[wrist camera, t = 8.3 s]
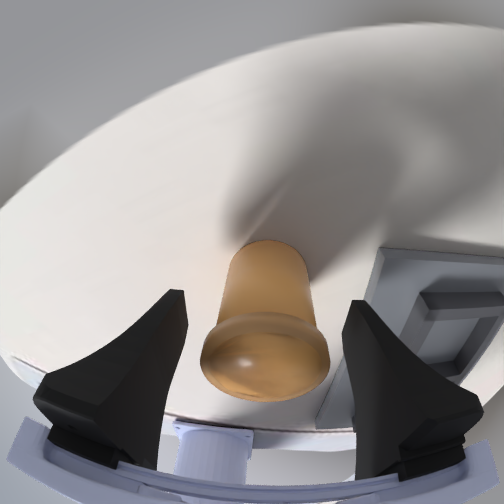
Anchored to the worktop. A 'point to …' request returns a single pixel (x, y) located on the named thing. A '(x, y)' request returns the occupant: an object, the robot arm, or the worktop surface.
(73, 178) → the worktop surface
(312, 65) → the worktop surface
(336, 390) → the housing
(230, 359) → the jaw peg
